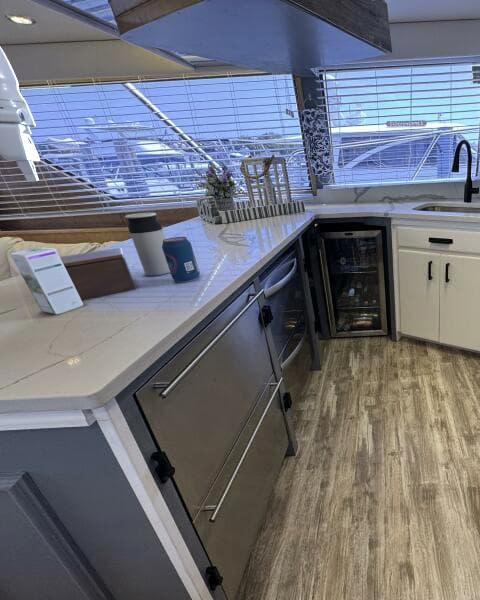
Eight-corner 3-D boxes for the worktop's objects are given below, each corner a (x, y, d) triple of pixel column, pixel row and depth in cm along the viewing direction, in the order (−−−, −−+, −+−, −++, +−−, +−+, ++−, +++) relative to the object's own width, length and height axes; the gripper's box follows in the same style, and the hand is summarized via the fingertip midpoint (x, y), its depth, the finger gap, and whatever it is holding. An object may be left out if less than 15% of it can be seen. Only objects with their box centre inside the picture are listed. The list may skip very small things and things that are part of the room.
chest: (135, 288, 88) (123, 258, 85) (73, 302, 81) (57, 268, 77) (133, 279, 96) (122, 250, 93) (76, 290, 89) (62, 259, 86)
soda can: (169, 281, 93) (154, 240, 89) (193, 274, 99) (181, 235, 94) (181, 284, 90) (167, 242, 85) (205, 277, 95) (193, 237, 90)
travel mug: (181, 270, 103) (162, 212, 96) (154, 277, 97) (132, 217, 90) (167, 267, 107) (148, 212, 100) (140, 274, 100) (118, 216, 93)
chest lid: (123, 257, 84) (122, 254, 84) (56, 268, 77) (55, 264, 76) (121, 250, 93) (120, 247, 93) (62, 259, 86) (60, 256, 85)
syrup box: (85, 305, 79) (57, 247, 73) (55, 315, 74) (22, 254, 68) (70, 303, 80) (42, 246, 75) (40, 313, 75) (7, 252, 70)
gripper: (-5, 121, 79) (22, 181, 84) (-31, 109, 64) (4, 183, 69) (32, 122, 82) (56, 179, 88) (16, 112, 68) (45, 181, 73)
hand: (33, 181), depth 78 cm, fingers closed
